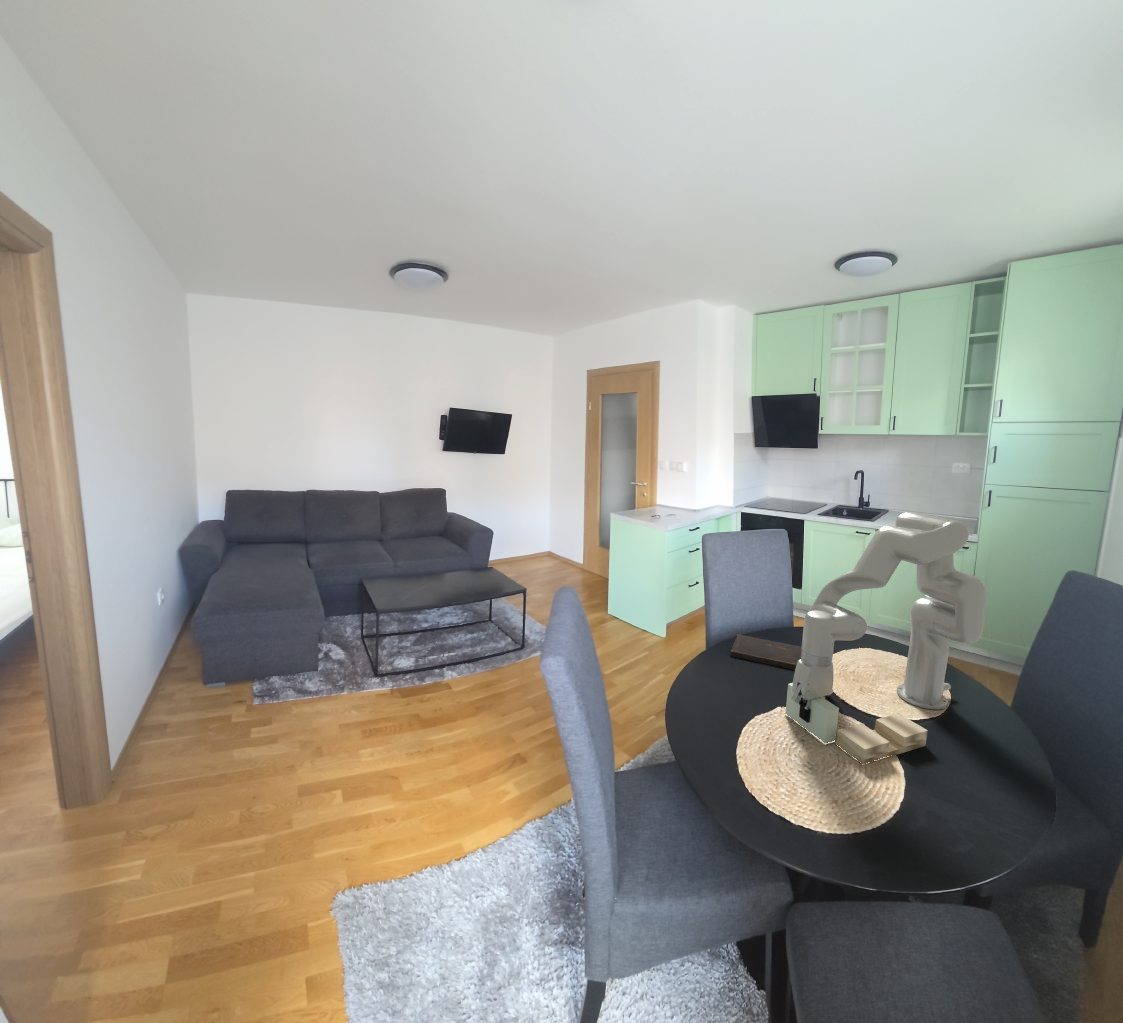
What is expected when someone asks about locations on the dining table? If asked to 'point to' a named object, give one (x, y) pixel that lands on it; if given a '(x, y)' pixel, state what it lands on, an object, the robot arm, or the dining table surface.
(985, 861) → the dining table surface
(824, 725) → the pale green plate
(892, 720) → the slotted rail
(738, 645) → the hardcover book
